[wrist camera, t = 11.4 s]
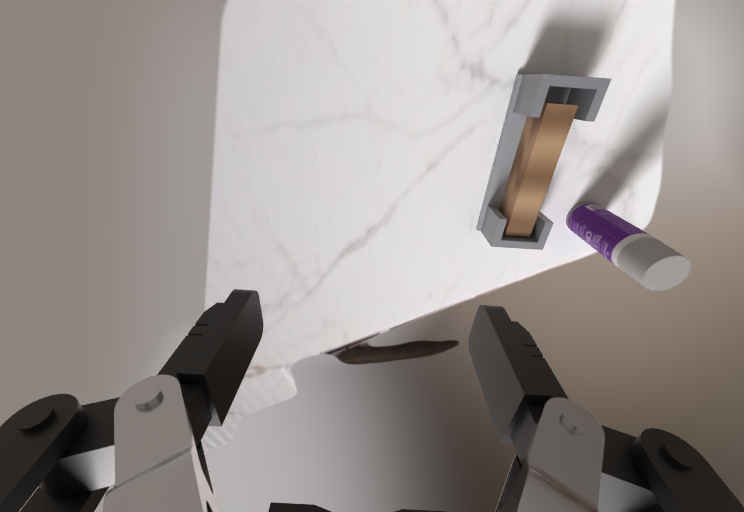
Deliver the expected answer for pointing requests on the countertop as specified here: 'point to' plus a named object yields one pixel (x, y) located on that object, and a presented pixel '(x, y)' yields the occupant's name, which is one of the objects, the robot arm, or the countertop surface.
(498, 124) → the countertop surface
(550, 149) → the slat
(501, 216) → the endcap rail
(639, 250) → the container
